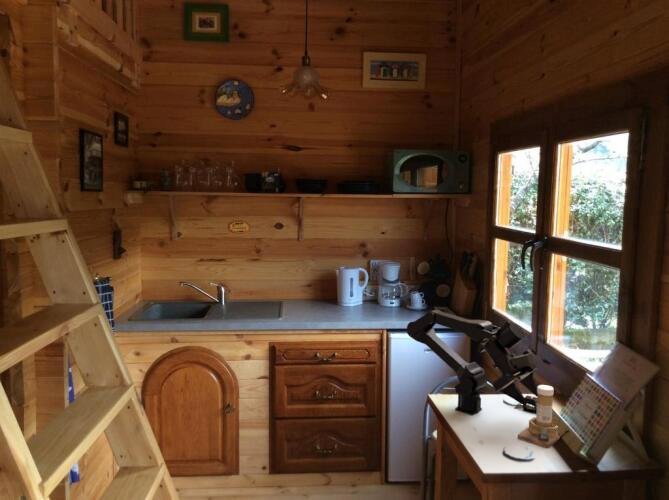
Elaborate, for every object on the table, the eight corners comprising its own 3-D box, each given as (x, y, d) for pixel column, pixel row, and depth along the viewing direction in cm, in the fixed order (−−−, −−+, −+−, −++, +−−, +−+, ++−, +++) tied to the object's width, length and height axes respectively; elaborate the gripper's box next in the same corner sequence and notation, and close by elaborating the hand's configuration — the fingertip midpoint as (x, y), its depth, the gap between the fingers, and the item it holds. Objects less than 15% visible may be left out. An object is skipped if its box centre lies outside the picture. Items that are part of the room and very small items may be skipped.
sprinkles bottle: (551, 429, 166) (554, 385, 165) (551, 435, 162) (553, 390, 161) (535, 426, 168) (537, 383, 166) (534, 432, 164) (536, 388, 162)
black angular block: (553, 412, 183) (553, 399, 182) (545, 419, 177) (546, 405, 177) (515, 403, 190) (516, 390, 190) (507, 409, 185) (508, 396, 184)
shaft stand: (517, 438, 162) (518, 426, 162) (540, 421, 174) (540, 410, 174) (548, 447, 156) (548, 435, 156) (569, 429, 168) (570, 418, 168)
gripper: (504, 348, 162) (538, 395, 156) (532, 336, 175) (565, 379, 169) (478, 368, 168) (510, 414, 162) (508, 355, 182) (539, 397, 175)
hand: (532, 400), depth 167 cm, fingers open, 9 cm apart
